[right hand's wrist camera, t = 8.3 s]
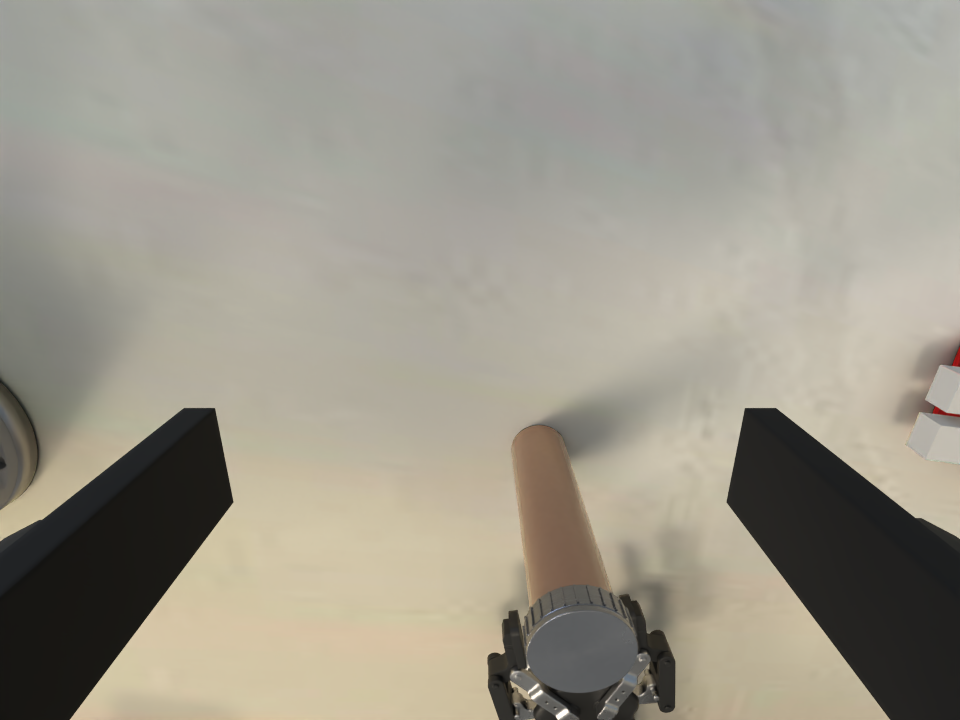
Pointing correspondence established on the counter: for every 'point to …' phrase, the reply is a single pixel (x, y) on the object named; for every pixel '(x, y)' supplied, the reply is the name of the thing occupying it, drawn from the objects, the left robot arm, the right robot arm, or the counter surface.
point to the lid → (579, 639)
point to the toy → (940, 418)
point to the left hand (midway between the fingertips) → (569, 611)
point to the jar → (552, 516)
